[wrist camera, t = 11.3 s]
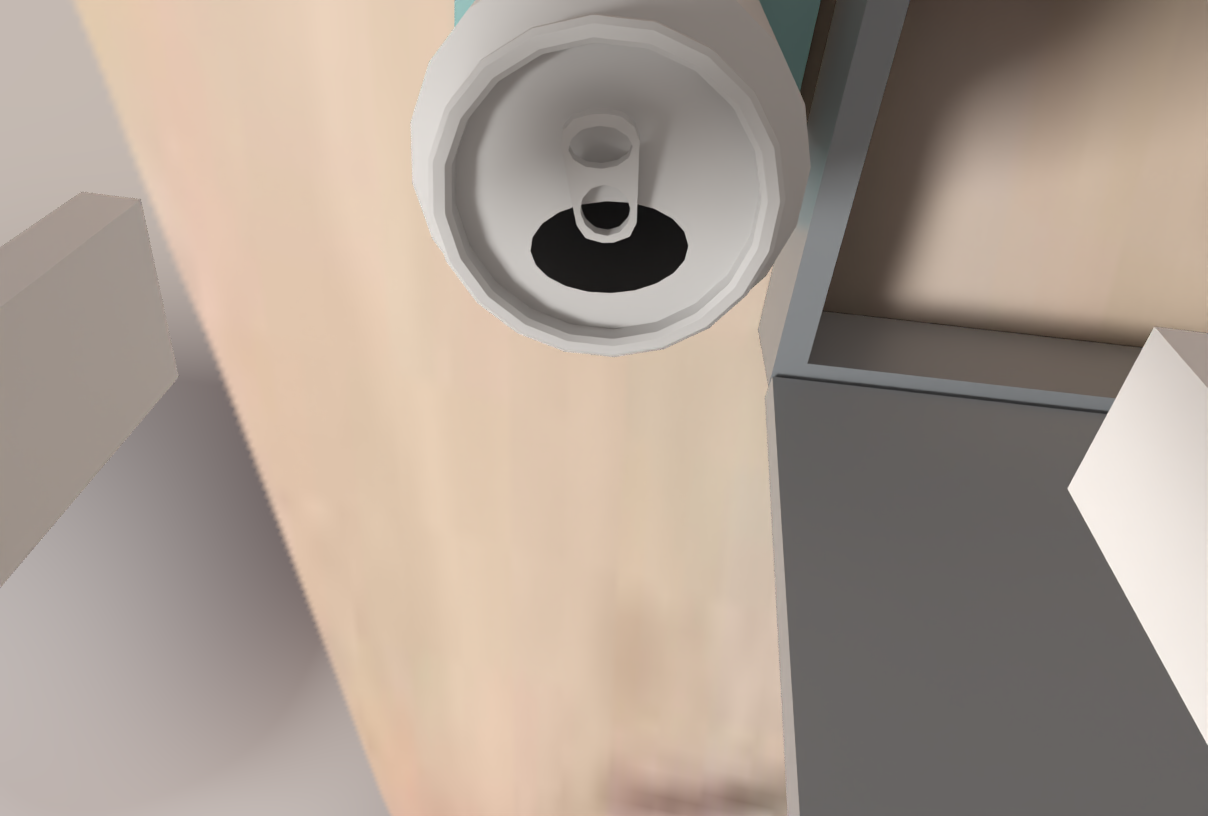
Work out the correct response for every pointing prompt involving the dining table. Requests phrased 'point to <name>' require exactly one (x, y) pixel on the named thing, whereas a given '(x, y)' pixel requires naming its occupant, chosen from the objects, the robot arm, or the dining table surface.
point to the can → (610, 164)
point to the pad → (789, 15)
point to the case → (944, 538)
